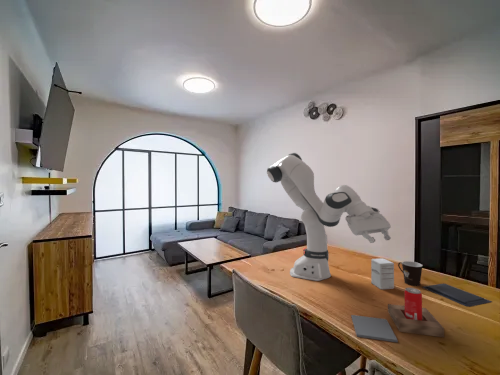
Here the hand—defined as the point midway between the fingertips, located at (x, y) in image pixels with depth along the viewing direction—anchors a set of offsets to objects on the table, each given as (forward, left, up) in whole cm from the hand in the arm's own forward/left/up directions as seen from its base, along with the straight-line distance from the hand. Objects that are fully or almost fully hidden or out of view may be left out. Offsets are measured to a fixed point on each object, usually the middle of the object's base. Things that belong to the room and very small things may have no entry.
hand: (381, 240), depth 96 cm
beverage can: (+8, -10, -28) cm, 30 cm away
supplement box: (+6, +22, -28) cm, 36 cm away
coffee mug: (+21, +30, -28) cm, 46 cm away
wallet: (+35, +20, -28) cm, 49 cm away
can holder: (+8, -10, -27) cm, 30 cm away
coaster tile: (-7, -17, -27) cm, 33 cm away
